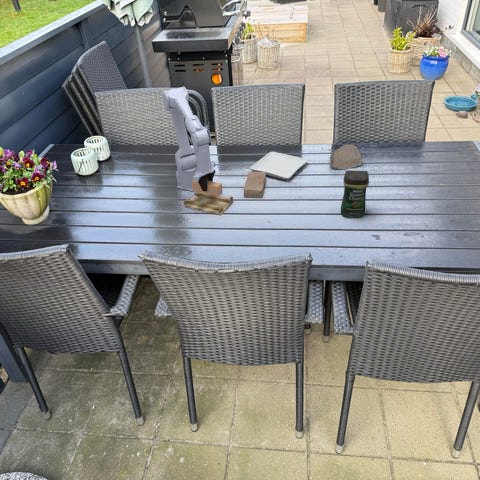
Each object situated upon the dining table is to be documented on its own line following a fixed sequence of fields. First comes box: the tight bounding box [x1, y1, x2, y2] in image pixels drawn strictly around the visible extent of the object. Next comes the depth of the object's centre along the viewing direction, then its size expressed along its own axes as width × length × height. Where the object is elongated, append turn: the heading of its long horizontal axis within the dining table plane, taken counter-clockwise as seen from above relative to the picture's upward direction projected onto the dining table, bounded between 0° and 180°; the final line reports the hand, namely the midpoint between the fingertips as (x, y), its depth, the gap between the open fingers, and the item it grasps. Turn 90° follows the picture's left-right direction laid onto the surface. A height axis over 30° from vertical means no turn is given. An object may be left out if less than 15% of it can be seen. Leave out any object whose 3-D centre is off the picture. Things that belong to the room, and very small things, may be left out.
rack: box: [183, 191, 234, 216], centre depth 192 cm, size 18×11×3 cm, turn 63°
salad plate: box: [249, 151, 309, 181], centre depth 215 cm, size 21×21×3 cm
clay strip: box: [191, 179, 223, 197], centre depth 188 cm, size 13×3×4 cm, turn 61°
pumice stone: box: [329, 143, 364, 170], centre depth 211 cm, size 15×8×10 cm, turn 90°
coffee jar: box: [340, 170, 370, 218], centre depth 175 cm, size 10×8×19 cm
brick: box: [243, 171, 267, 199], centre depth 200 cm, size 17×8×5 cm, turn 171°
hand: (207, 188), depth 188 cm, fingers closed on clay strip, 3 cm apart
